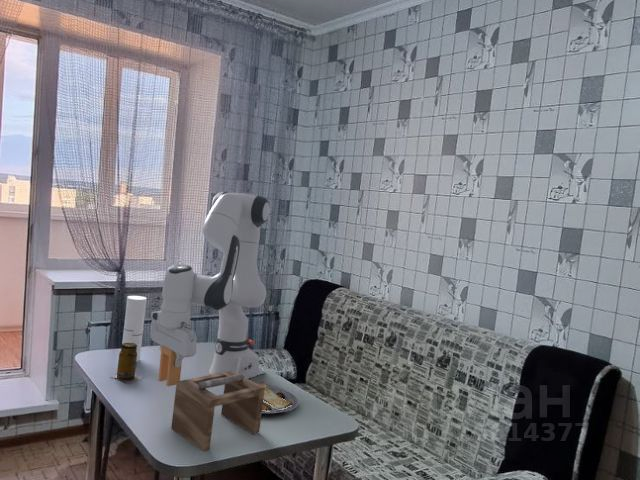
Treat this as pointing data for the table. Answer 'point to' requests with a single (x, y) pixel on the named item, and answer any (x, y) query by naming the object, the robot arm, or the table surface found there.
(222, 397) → the wooden slider frame
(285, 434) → the table surface
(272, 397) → the food plate
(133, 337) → the cylindrical container
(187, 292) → the robot arm
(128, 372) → the condiment
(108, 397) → the table surface
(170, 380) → the orange forked block
